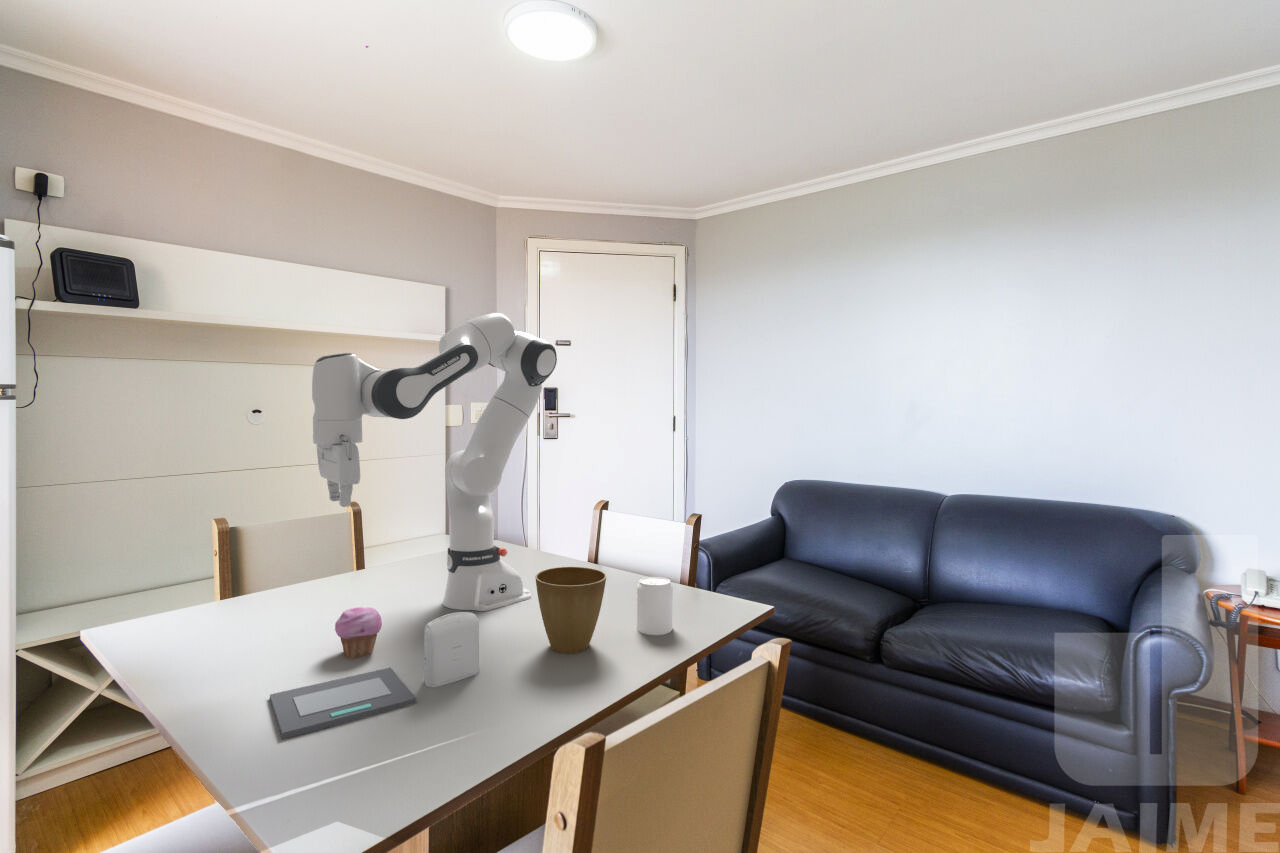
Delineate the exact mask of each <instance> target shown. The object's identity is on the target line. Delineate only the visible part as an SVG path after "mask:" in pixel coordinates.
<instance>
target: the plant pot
mask: <svg viewBox="0 0 1280 853" xmlns="http://www.w3.org/2000/svg"><path fill="white" fill-rule="evenodd" d="M534 577H535V584H536V586H535V587H536V591H537V600H538V604H539V605H538V606H539V610H540V614H541V617H542V618H541V619H542V622H543V627H544V631H545V632H546V636H547V639H548V642H549V645H550V647H551V649H552V650H553V651H554V652H555V653H556V652H557V653H559V654H566V655H567V654H578V653H581V652H584V651H586V650H587V649H588V648H589V646H590V643H591V640H592V637H593V636H594V632H595V630H596V626H597V623H598V620H599V616H600V612H601V608H602V603H603V598H604V595H605V594H604V593H605V588H606V581H607V574H606V573H605V572H603V571H602V570H600V569H599V570H598V569H596V568H591V567H584V566H581V567H580V566H559V567H552V568H546V569H543V570H541V571H539V572H537V573H536V574H535V576H534Z"/></svg>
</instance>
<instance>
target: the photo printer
mask: <svg viewBox="0 0 1280 853" xmlns="http://www.w3.org/2000/svg"><path fill="white" fill-rule="evenodd" d="M479 624H480V623H479V619H478V616H477V614H474V613H473V612H468V611H458V612H457V611H456V612H452V613H447V614H443V615H442V616H441V615H440V616H439V617H436V618H435V619H433V620H431V621H429V622H428V623H426V624H425V626H424V629H423V631H424V632H423V636H424V637H423V638H424V639H423V640H424V641H423V645H424V647H423V649H424V650H423V651H424V652H423V653H424V657H423V658H424V662H423V663H424V685H425V686H426V687H429V688H434V689H435V688H436V687H437V688H438V687H441V686H445V685H448V684H451V683H454V682H457V681H461V680H464V679H468V678H470V677H473V676H476V675H478V674H479V673H480V630H479V628H480V626H479Z"/></svg>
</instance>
